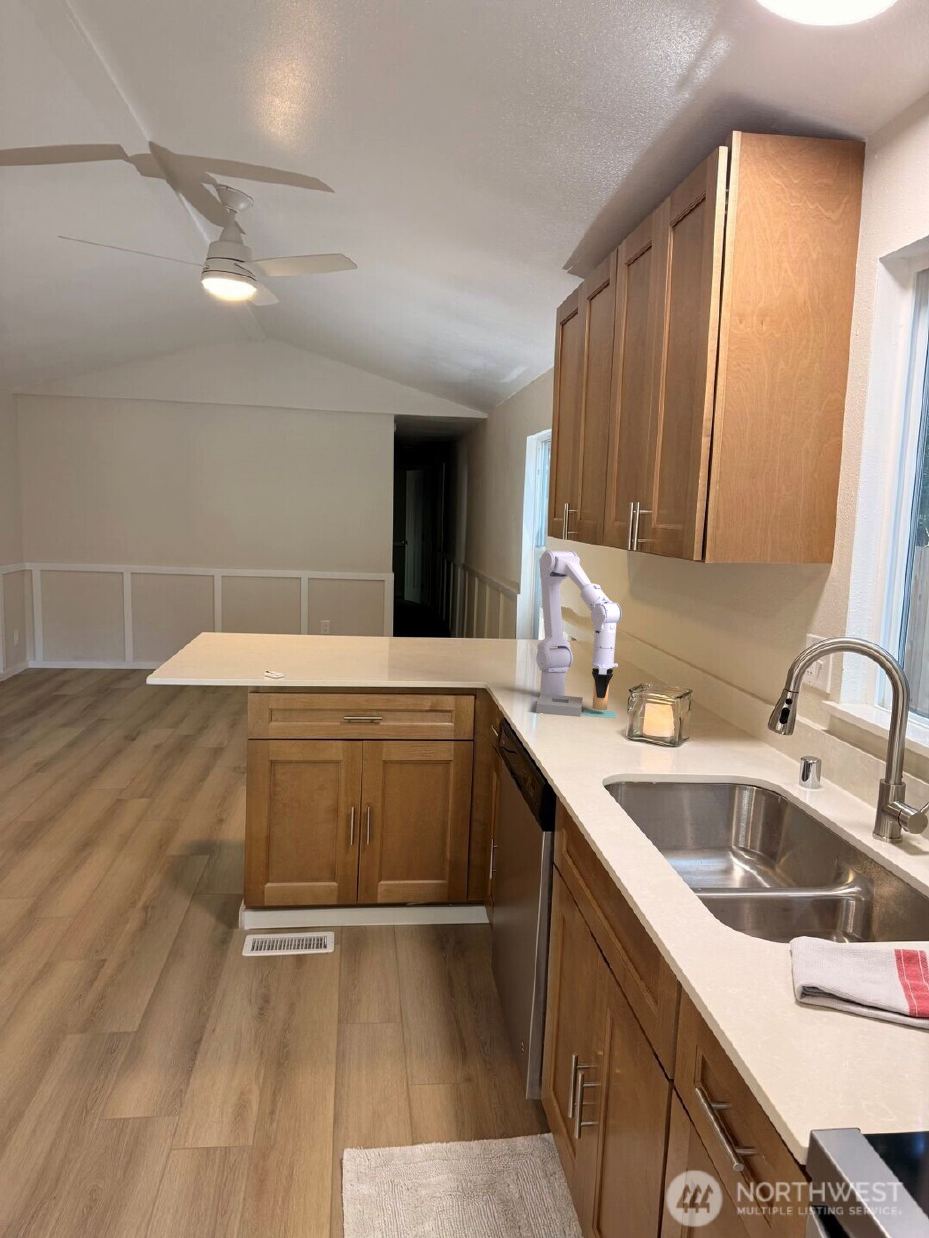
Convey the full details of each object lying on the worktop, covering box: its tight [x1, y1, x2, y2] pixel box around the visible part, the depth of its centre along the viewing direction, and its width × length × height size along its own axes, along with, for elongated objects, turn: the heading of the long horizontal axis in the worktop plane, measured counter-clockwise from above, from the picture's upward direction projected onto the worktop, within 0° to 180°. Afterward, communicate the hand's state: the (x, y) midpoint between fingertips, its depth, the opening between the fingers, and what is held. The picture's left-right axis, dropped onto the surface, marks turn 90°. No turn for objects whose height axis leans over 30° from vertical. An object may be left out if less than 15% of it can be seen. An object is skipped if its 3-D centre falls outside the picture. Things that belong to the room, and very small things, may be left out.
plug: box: [592, 681, 610, 711], centre depth 232 cm, size 4×4×7 cm
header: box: [535, 693, 583, 718], centre depth 236 cm, size 14×12×3 cm
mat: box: [582, 708, 617, 719], centre depth 233 cm, size 9×9×1 cm
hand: (600, 696), depth 232 cm, fingers closed on plug, 4 cm apart
